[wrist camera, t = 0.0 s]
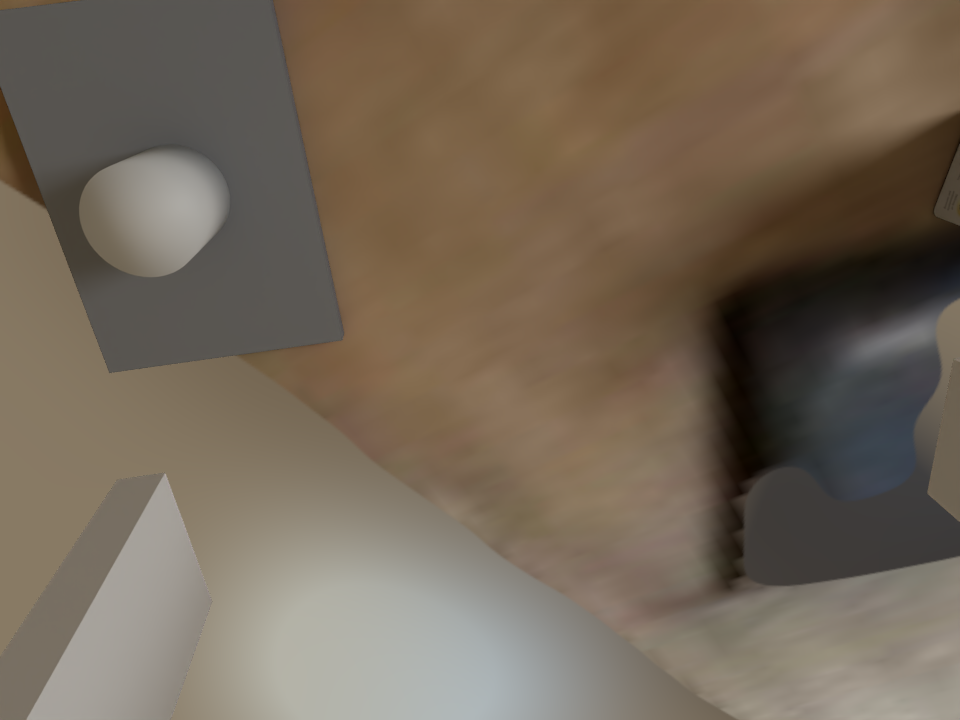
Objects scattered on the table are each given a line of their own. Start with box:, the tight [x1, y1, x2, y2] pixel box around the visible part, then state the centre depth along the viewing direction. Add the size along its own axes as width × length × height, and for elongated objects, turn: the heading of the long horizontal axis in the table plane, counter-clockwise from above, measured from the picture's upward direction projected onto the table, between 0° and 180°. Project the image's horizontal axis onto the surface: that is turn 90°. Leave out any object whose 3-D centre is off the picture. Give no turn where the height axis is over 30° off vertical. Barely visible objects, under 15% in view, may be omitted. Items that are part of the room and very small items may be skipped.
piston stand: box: [0, 0, 344, 373], centre depth 33 cm, size 18×13×6 cm
